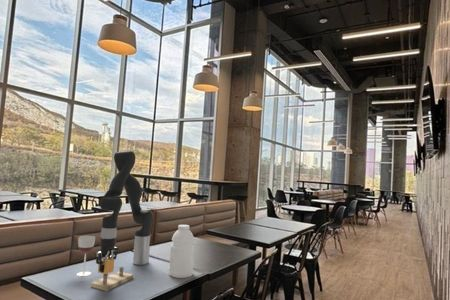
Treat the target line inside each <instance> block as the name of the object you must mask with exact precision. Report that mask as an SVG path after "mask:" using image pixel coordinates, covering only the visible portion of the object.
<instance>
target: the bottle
mask: <svg viewBox="0 0 450 300" xmlns="http://www.w3.org/2000/svg"><path fill="white" fill-rule="evenodd" d="M171 241H172V243H171V244H170V255H169V268H168V274H169V276H170V277H173V278H177V279H178V278H179V279H184V278H185V279H186V278H189V277H192V276H193V274H194V261H195V260H194V259H195V248H196V247H195V246H196V245H194V243H193V242H195V237H194V235H193V233H192V231H191V230H190V225H189V224H178V226H177V230H176V231H175V232H174V233H173V235H172V237H171Z"/></svg>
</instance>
